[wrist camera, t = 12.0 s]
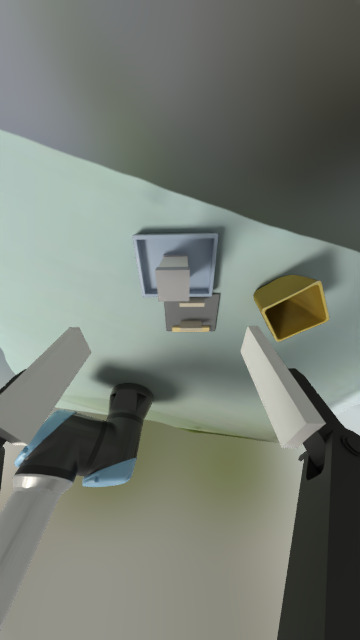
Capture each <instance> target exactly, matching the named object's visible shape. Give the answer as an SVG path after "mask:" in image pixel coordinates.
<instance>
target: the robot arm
mask: <svg viewBox="0 0 360 640" xmlns="http://www.w3.org/2000/svg"><path fill="white" fill-rule="evenodd" d="M240 352H241V354H242V356H243V359H244V361H245V363H246V366H247V368H248V370H249V373H250V375H251V377H252V380H253V382H254V384H255V386H256V389H257V391H258V393H259V396H260V398H261V400H262V403H263V405H264V407H265V409H266V412H267V414H268V416H269V419H270V421H271V423H272V426H273V428H274V430H275V433H276V435H277V437H278V439H279V442H280V444H281V446H282V448H298V447H299V446H300V445H302V444H303V445H304V446H305V448H306V450H307V451H306V452H304V453H303V454H302V455H300V457H299V460H300V461H302V460H303V459H304V464H303V470H302V477H301V483H300V490H299V497H298V503H297V511H296V518H295V523H294V530H293V537H292V544H291V550H290V557H289V564H288V570H287V577H286V584H285V590H284V597H283V604H282V610H281V617H280V623H279V630H278V637H277V640H360V436H359V435H358V434H356V433H354V432H353V431H350V430H348V429H346V428H345V427H344V426H343V425H342V424H341V423H340V422H339V420H338V419H337V418H336V416H335V415H334V414H333V412H332V411H331V410H330V409H329V407H328V406H327V405H326V403H325V402H324V401H323V399H322V398H321V397H320V396H319V394H317V392H316V390H315V389H314V388H313V386H311V384H310V383H309V381H308V380H307V379H306V377H305V376H304V375H303V374H301V373H300V372H299V371H298V370H296V369H295V368H292V369H287V367H286V366H285V364H284V363H283V361H282V360H281V358H280V357H279V356H278V354H277V353H276V351H275V350H274V348H273V347H272V346H271V344H270V343H269V341H268V340H267V338H266V337H265V336H264V334H263V333H262V331H261V330H260V328H259V327H258V326H248V327H247V330H246V334H245V337H244V341H243V344H242V348H241V351H240ZM90 354H91V350H90V348H89V346H88V344H87V342H86V340H85V338H84V336H83V334H82V332H81V330H80V328H79V327H70V328H69V329H68V330H67V331H66V332H64V333H63V334H62V335H61V336H60V337H59V338H58V339H57V340H56V341H55V342H54V343H53V344H52V345H51V346H50V347H49V348H48V349H47V350H46V351H45V352H44V353H43V354H42V355H41V356H40V357H39V358H38V359H37V360H36V361H35V362H34V363H33V364H31V365H30V366H29V367H28V368H27V369H25V370H23V371H22V372H20V373H19V374H17V375H16V376H14V377H13V378H12V379H11V380H10V381H9V382H8V383H7V384H6V386H4V387H3V388H1V389H0V489H1V480H2V471H3V463H4V455H5V449H4V447H2V446H3V444H4V443H5V442H6V441H8V442H10V443H11V444H13V445H26V446H25V448H24V449H23V450H22V451H21V453H20V454H19V456H18V457H17V459H16V460H15V465H16V467H19V469H18V470H17V472H16V473H15V475H14V476H13V478H12V479H13V493H12V494H11V496H10V498H9V499H8V501H7V503H6V504H5V506H4V507H3V509H2V511H1V512H0V630H1V628H2V625H3V623H4V621H5V619H6V616H7V614H8V612H9V609H10V607H11V605H12V602H13V600H14V598H15V596H16V594H17V591H18V589H19V587H20V585H21V582H22V580H23V578H24V575H25V573H26V571H27V569H28V566H29V564H30V562H31V560H32V558H33V555H34V553H35V551H36V549H37V546H38V544H39V542H40V539H41V537H42V535H43V533H44V530H45V528H46V526H47V523H48V521H49V519H50V517H51V515H52V512H53V510H54V508H55V505H56V503H57V501H58V499H59V497H60V496H61V495H62V493H63V492H65V491H66V490H67V489H69V488H70V487H71V486H72V484H73V482H74V479H75V477H76V475H79V476H84V478H83V486H85V487H86V486H87V487H103V486H113V485H119V484H123V483H126V482H127V481H129V479H130V478H131V476H132V474H133V470H134V466H135V462H136V460H137V452H138V447H139V441H140V436H141V431H142V426H143V421H144V418H145V416H146V414H147V412H148V410H149V409H150V407H151V404H152V400H153V395H152V393H151V392H150V391H149V390H148V389H147V388H145V387H143V386H140V385H136V384H121V385H118V386H116V387H114V388H113V390H112V392H111V395H110V401H109V414H108V417H107V420H106V421H104V420H100V419H97V418H93V417H90V416H86V415H83V414H80V413H77V412H75V411H74V412H72V411H67V410H58V411H56V412H54V413H53V414H52V415H51V416H50V417H49V418H48V419H47V420H46V418H47V417H48V415H49V414H50V412H51V411H52V410H53V408H54V407H55V405H56V404H57V402H58V401H59V399H60V398H61V396H62V395H63V393H64V392H65V390H66V389H67V387H68V386H69V385H70V383H71V382H72V380H73V379H74V377H75V376H76V374H77V373H78V371H79V370H80V368H81V367H82V365H83V364H84V362H85V361H86V359H87V358H88V357H89V355H90ZM45 420H46V421H45ZM44 421H45V423H44ZM43 423H44V424H43ZM42 424H43V425H42Z"/></svg>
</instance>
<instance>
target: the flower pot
mask: <svg viewBox="0 0 360 640" xmlns="http://www.w3.org/2000/svg"><path fill="white" fill-rule="evenodd" d="M254 301H255V303H256V304H257V306H258V308H259V310H260V312H261V314H262V316H263V318H264V320H265V322H266V324H267V326H268V328H269V330H270V331H271V333H272V335H273V337H274V338H275V340H276V341H277V342H279V341H282V340H284V339H287V338H289V337H291V336H294V335H296V334H298V333H300V332H303V331H305V330H308V329H310V328H313V327H315V326H318V325H320V324H323V323H325V322H327V321H329V314H328V309H327V305H326V301H325V296H324V291H323V286H322V283H321V281H319V280H315V279H311V278H307V277H303V276H299V275H287V276H283V277H280V278H278V279H276V280H274V281H272V282H271V283H269V284H267V285H265V286H263V287H262V288H260V289H258V290H256V291H255V293H254Z"/></svg>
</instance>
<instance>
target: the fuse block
mask: <svg viewBox="0 0 360 640" xmlns="http://www.w3.org/2000/svg"><path fill="white" fill-rule="evenodd" d="M219 295H220V294H219V293H217V294H212V297H189V301H164V306H165V317H166V328H167V331H172V332H209V331H215V324H216V317H217V310H218V302H219Z"/></svg>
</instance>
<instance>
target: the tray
mask: <svg viewBox="0 0 360 640" xmlns="http://www.w3.org/2000/svg"><path fill="white" fill-rule="evenodd" d="M218 235H219V234H218V233H216V232H210V233H162V234H135V235H132V239H133V245H134V251H135V256H136V262H137V268H138V273H139V279H140V285H141V290H142V296H143V297H158V292H157V283H156V274H155V270H156V268H157V267H159V265H160V263H161V261H162V259H163V254H188V267H190V287H189V297H212V290H213V281H214V272H215V263H216V254H217V244H218Z"/></svg>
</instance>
